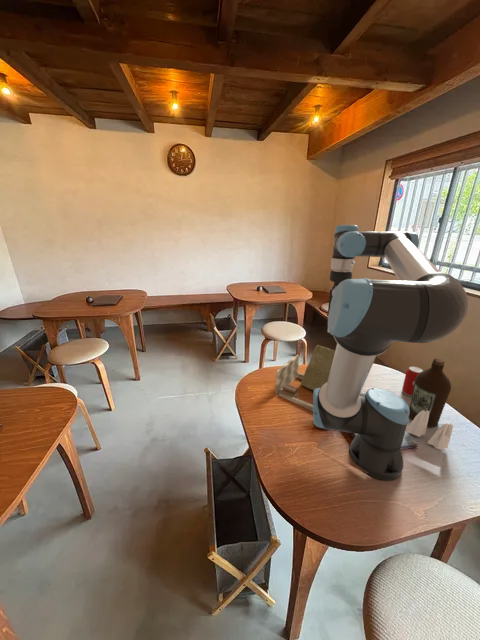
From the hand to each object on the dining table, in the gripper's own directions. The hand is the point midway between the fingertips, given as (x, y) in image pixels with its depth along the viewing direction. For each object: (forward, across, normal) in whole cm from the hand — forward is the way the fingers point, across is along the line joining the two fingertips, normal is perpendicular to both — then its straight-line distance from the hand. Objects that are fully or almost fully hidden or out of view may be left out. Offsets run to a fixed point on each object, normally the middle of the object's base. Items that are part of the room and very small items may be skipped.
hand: (333, 330), depth 103 cm
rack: (+31, -1, +4) cm, 31 cm away
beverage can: (+31, +25, -29) cm, 49 cm away
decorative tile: (+31, 0, +2) cm, 31 cm away
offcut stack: (+31, -8, +13) cm, 34 cm away
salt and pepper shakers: (+31, -4, -36) cm, 48 cm away
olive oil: (+31, +8, -34) cm, 47 cm away
